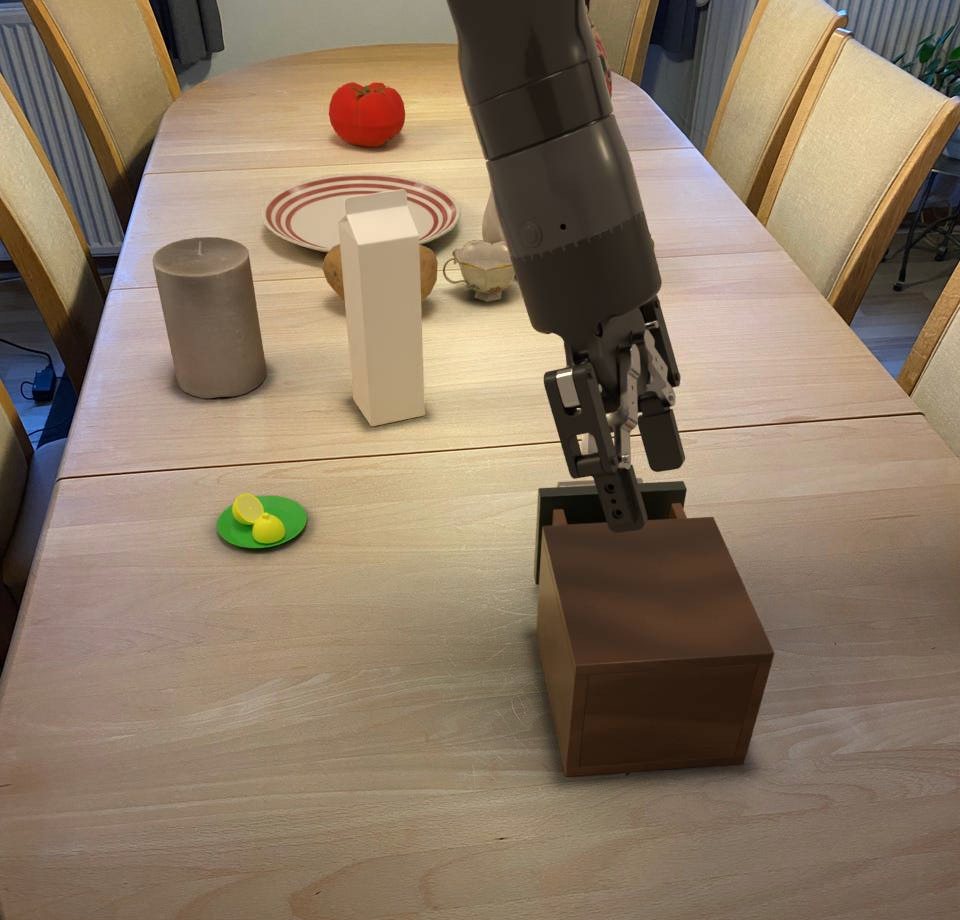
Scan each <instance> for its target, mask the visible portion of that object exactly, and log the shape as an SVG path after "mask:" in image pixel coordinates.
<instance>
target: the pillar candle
mask: <svg viewBox="0 0 960 920" xmlns="http://www.w3.org/2000/svg"><path fill="white" fill-rule="evenodd" d="M152 267H153V271H154V276H155V281H156V285H157V290H158V296H159V299H160V304H161V310H162V314H163V318H164V324H165V328H166V334H167V338H168V343H169V347H170V352H171V358H172V362H173V367H174V372H175V378H176V381H177V385H178V387H179V388H180V389H181V390H182V391H183V392H185V393H186V394H188V395H190V396H193V397H196V398H201V399H214V398H221V397H222V398H225V397H227V398H228V397H239V396H243V395H245V394H247V393H249V392H253V390H255V389H257V388H259V386H261V385H262V383H263V382H264V380H265V379H266V376H267V372H268V370H267V369H268V368H267V363H266V357H265V351H264V345H263V339H262V338H263V337H262V331H261V326H260V318H259V311H258V305H257V299H256V291H255V286H254V285H255V284H254V278H253V272H252V265H251V259H250V252H249V249H248V248H247V246H245V245H244V244H242V243H241V242H239V241H237V240H233V239H230V238H223V237H217V236H216V237H215V236H214V237H213V236H203V237H190V238H184V239H180V240H177V241H172V242H170V243H168V244H166V245H164V246H162V247H160V248H159V249H158V250H156V251H155V253H154V254H153V257H152Z"/></svg>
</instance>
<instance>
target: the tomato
mask: <svg viewBox="0 0 960 920" xmlns="http://www.w3.org/2000/svg"><path fill="white" fill-rule="evenodd" d="M328 107H329V108H328V116H329V123H330V125H331V127H332V129H333V130H334V132H335V134H337V136H338V137H339V138H340V139H341V140H343V141H344V142H346V143H349V144H351V145H355V146H360V147H361V146H362V147H369V148H370V147H371V148H374V147H375V148H376V147H379V146H381V145H383V144H385V143H387V141H388V140H389V141H390V140H392V139H394V138H395V137H396V136H397V135H399V134H400V133H401V131H402V129H403V127H404V125H405V122H406V108H405V103H404V100H403V98H402V96H401V94H400V93H399V92H398V91H397V89H395V88H392V87H391V85H390V86H389V85H385V83H384V82H374V81H373V82H371V83H370V84H368V85H365V86H363V85H361V84H359V83H357V82H355V81H353V82H348V83H345V84H342V86H341V87H340V86H339V87H338V88H337V89H336V90H335V92H333V94H332V96H331V99H330V102H329V106H328Z"/></svg>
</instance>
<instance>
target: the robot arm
mask: <svg viewBox="0 0 960 920" xmlns="http://www.w3.org/2000/svg"><path fill="white" fill-rule="evenodd" d="M446 4H447V8H448V9H449V12H450V16H451V19H452V22H453V25H454V29H455V32H456V37H457V62H458V63H457V64H458V71H459V77H460V81H461V87H462V90H463V95H464V97H465V101H466V104H467V107H468V109H469V113H470V116H471V119H472V123H473V125H474V130H475V132H476V135H477V139H478V142H479V146H480V148H481V152H482V156H483V158H484V160H485V161H486V162H485V166H486V170H487V174H488V179H489V184H490V192H491V191H492V197H493V202H494V206H495V210H496V214H497V217H498V220H499V223H500V227H501V230H502V233H503V236H504V239H505V242H506V245H507V249H508V252H509V255H510V259H511V262H512V265H513V268H514V271H515V275H516V276H515V278H516V281H517V284H518V287H519V291H520V293H521V297H522V300H523V303H524V306H525V309H526V313H527V316H528V319H529V322H530V324H531V327H532V329H533V330H535V331H536V332H538V333H540V334H543V335H551V334H554V335H557V336H558V337H560V338H561V340H562V341H563V347H564V354H565V361H566V362H565V365H566V366H565V367H561V368H558V369H553V370H549V371H545V372H544V374H543V386H544V390H545V393H546V396H547V400H548V403H549V407H550V411H551V414H552V417H553V421H554V424H555V428H556V431H557V436H558V439H559V442H560V446H561V449H562V452H563V456H564V459H565V463H566V466H567V470H568V473H569V476H570V477H571V478H572V479H573V480H576V479H583V478H588V477H592V478H593V479H592V480H594V482H595V485H596V488H597V492H598V495H599V498H600V501H601V505H602V508H603V511H604V514H605V518H606V521H607V524H608V527H609V529H610V530H611V531H613V532H615V533H620V532H627V531H635V530H640V529H642V528H643V526H644V525H645V523H646V521H647V513H646V510H645V506H644V503H643V499H642V496H641V493H640V489H639V486H638V482H637V479H636V478H637V476H636V472H635V469H634V465H633V464H632V455H631V453H632V451H631V450H632V448H631V434H632V431H633V430H635V428H637V427H638V431H639V434H640V438H641V441H642V446H643V448H644V449H643V450H644V452H645V456H646V459H647V463H648V467H649V469H650V470H651V471H652V472H655V473H661V472H666V471H667V472H669V471H674V470H678V469H680V468H681V467H682V466H683V464H684V462H685V461H686V453H685V450H684V448H683V447H684V446H683V444H682V440H681V435H680V431H679V428H678V424H677V420H676V416H675V412H674V409H673V408H671V407H674V406H675V405H676V392H675V390H674V388H677V387H680V385H681V374H680V371H679V368H678V364H677V361H676V357H675V353H674V349H673V346H672V342H671V339H670V334H669V331H668V328H667V324H666V321H665V317H664V313H663V310H662V306H661V301H660V298H659V297H658V293H659V292H660V290H661V288H662V276H661V272H660V268H659V264H658V261H657V257H656V252H655V247H654V248H653V244H652V240H651V238H652V236H651V237H650V234H651V232H650V229H649V225H648V222H647V217H646V213H645V210H644V209H645V208H644V206H643V202H642V197H641V193H640V190H639V186H638V181H637V177H636V174H635V169H634V166H633V163H632V159H631V156H630V153H629V150H628V148H627V144H626V143H625V140H624V138H623V136H622V133H621V130H620V126H619V125H618V121H617V118H616V115H615V114H614V113H613V112H614V108H613V107H614V106H613V103H612V98H611V99H610V95H609V91H608V87H607V83H606V79H605V75H604V71H603V67H602V63H601V59H600V58H599V52H598V49H597V45H596V42H595V39H594V36H593V33H592V30H591V27H590V24H589V20H588V16H587V12H586V6H585V0H446ZM649 232H650V233H649ZM640 413H641V414H640ZM612 434H613V435H612ZM578 436H581V446H580V443H579V440H578V439H579V438H578Z"/></svg>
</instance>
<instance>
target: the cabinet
mask: <svg viewBox="0 0 960 920" xmlns="http://www.w3.org/2000/svg"><path fill="white" fill-rule="evenodd" d="M537 596H538V597H537V613H536V630H535V631H536V632H535V635H536V641H537V646H538V649H539V655H540V660H541V666H542V669H543V674H544V675H543V676H544V680H545V685H546V689H547V694H548V698H549V703H550V708H551V713H552V714H551V715H552V719H553V723H554V727H555V732H556V737H557V743H558V747H559V752H560V758H561V762H562V767H563V772H564V775H565V777H575V776H576V777H578V776H590V775H605V774H617V773H633V772H646V771H658V770H659V771H660V770H673V769H686V768H700V767H714V766H727V765H728V766H729V765H743V764H745V761H746V758H747V754H748V751H749V748H750V745H751V740H752V736H753V733H754V729H755V725H756V722H757V719H758V715H759V712H760V708H761V704H762V702H763V701H762V700H763V696H764V693H765V689H766V686H767V682H768V679H769V675H770V671H771V668H772V664H773V660H774V657H775V651H774V649H773V646H772V644H771V642H770V640H769V637H768V635H767V633H766V631H765V627H764V626H763V624H762V622H761V619H760V618H759V615H758V613H757V610H756V608H755V607H754V604H753V602H752V599H751V597H750V595H749V593H748V591H747V589H746V586H745V584H744V582H743V580H742V578H741V575H740V573H739V571H738V569H737V567H736V564H735V562H734V560H733V557H732V555H731V553H730V551H729V548H728V545H727V544H726V542H725V540H724V537H723V535H722V533H721V531H720V529H719V525H718V524H717V522H716V519H715V518H714V516H704V517H687V518H681V519H663V520H647V521H646V523H645V525H644V526H643V528H642V529H640V530H635V531H627V532H620V533H615V532H613V531H611V530H610V529H609V527H608V524H607V523H588V524H569V525H550V526H543V528H542V544H541V561H540V578H539V585H538V595H537Z"/></svg>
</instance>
